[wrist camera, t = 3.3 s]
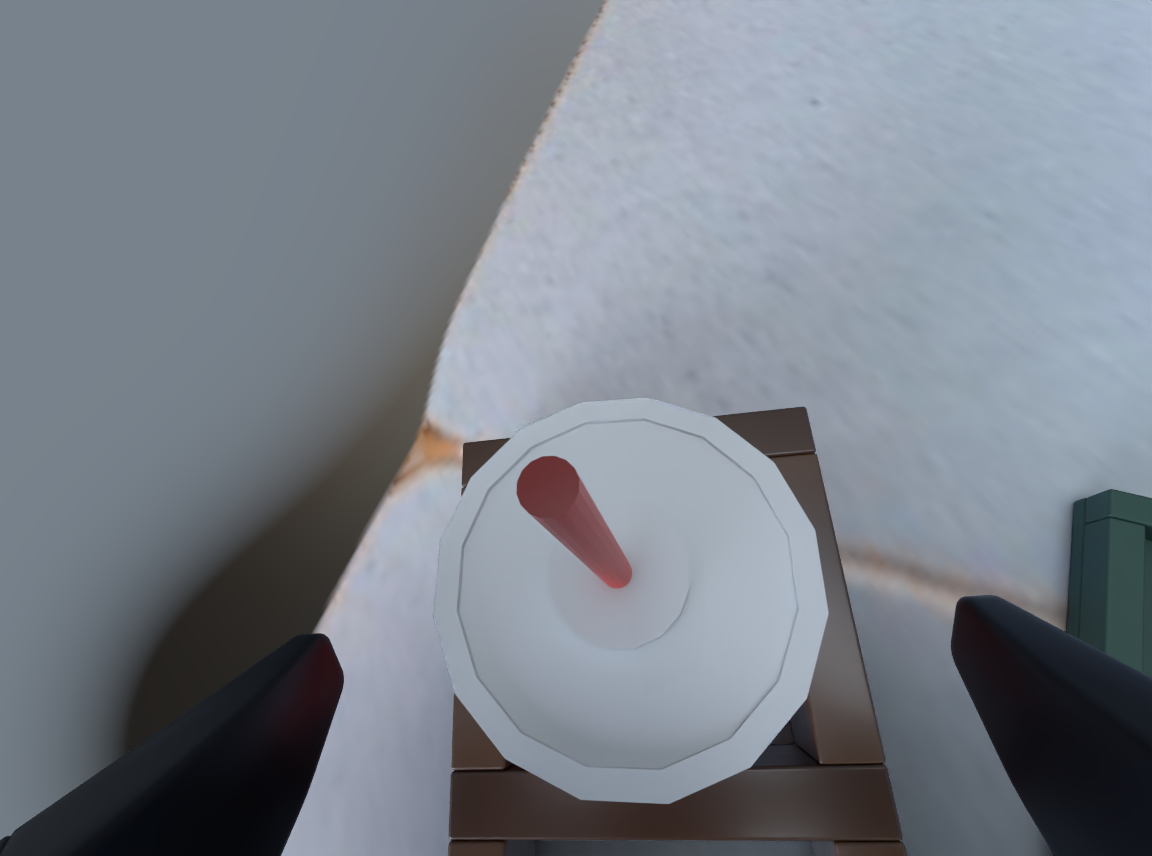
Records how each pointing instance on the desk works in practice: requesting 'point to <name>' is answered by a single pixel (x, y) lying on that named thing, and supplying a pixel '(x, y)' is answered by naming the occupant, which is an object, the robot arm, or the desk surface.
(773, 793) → the cup rack
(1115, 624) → the tray
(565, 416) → the beverage cup
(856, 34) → the desk surface
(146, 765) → the robot arm
